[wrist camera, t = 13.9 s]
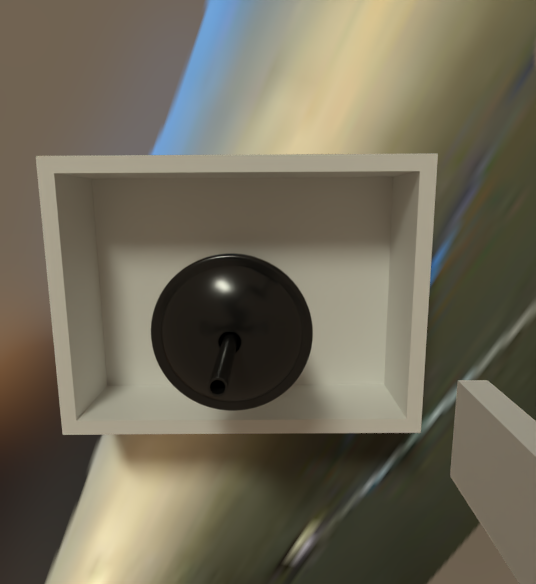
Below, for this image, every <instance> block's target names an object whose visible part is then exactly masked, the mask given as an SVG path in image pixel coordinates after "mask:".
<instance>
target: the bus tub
mask: <svg viewBox="0 0 536 584" xmlns="http://www.w3.org/2000/svg"><path fill="white" fill-rule="evenodd" d="M437 158H438V154H296V155H134V156H131V155H130V156H36V163H37V174H38V185H39V195H40V206H41V215H42V226H43V236H44V247H45V257H46V267H47V278H48V288H49V297H50V309H51V319H52V329H53V340H54V350H55V360H56V370H57V381H58V391H59V402H60V412H61V422H62V432H63V435H67V434H68V435H78V434H79V435H81V434H82V435H83V434H273V433H421V419H422V403H423V387H424V370H425V354H426V338H427V321H428V305H429V289H430V272H431V256H432V240H433V223H434V207H435V191H436V174H437ZM225 253H238V254H246V255H251V256H255V257H257V258H260V259H263V260H265V261H267V262H269V263H271V264H273V265H275V266H276V267H278V268H279V269H281V270H282V271H283V272H284V273H285V274H287V275H288V276H289V277H290V278H291V279H292V280H293V282H294V283H295V284H296V285H297V287H298V288H299V290H300V291H301V293H302V294H303V296H304V298H305V300H306V302H307V305H308V307H309V311H310V314H311V319H312V325H313V341H312V348H311V352H310V356H309V359H308V361H307V364H306V366H305V368H304V370H303V371H302V373H301V375H300V376H299V378H298V379H297V380H296V382H295V383H294V384H293V385H292V386H291V387H290V388H289V389H288V390H287V391H286V392H285V393H283V394H282V395H281V396H279V397H278V398H276V399H274V400H273V401H271V402H269V403H267V404H264V405H261V406H259V407H255V408H252V409H246V410H238V411H227V410H219V409H214V408H210V407H207V406H204V405H201V404H199V403H197V402H195V401H193V400H191V399H189V398H188V397H186V396H185V395H183V394H182V393H181V392H180V391H178V390H177V389H176V388H175V387H174V386H173V385H172V384H171V383H170V381H169V380H168V379H167V378H166V376H165V375H164V373H163V372H162V370H161V368H160V367H159V365H158V362H157V360H156V357H155V355H154V351H153V347H152V341H151V321H152V315H153V311H154V308H155V305H156V302H157V300H158V298H159V296H160V294H161V292H162V291H163V289H164V288H165V286H166V285H167V284H168V283H169V281H170V280H171V279H172V278H173V277H174V276H175V275H176V274H177V273H179V272H180V271H181V270H182V269H184V268H185V267H187V266H188V265H190V264H192V263H194V262H195V261H197V260H200V259H202V258H205V257H209V256H212V255H217V254H225Z"/></svg>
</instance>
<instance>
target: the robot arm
mask: <svg viewBox="0 0 536 584" xmlns="http://www.w3.org/2000/svg"><path fill="white" fill-rule="evenodd" d="M450 477H451V478H452V480H453V481H454V483H455V484H456V486H457V487H458V489H459V491H460V492H461V494H462V495H463V497H464V498H465V500H466V502H467V503H468V505H469V506H470V508H471V509H472V511H473V512H474V514H475V516H476V517H477V519H478V520H479V522H480V523H481V525H482V526H483V528H484V530H485V531H486V533H487V534H488V536H489V537H490V539H491V541H492V542H493V544H494V545H495V547H496V548H497V550H498V551H499V553H500V554H501V556H502V558H503V559H504V561H505V562H506V564H507V565H508V567H509V569H510V570H511V572H512V573H513V575H514V576H515V578H516V580H517V581H518V583H519V584H536V421H535V420H534V419H533V418H531V417H530V416H529V415H528V414H527V413H525V412H524V411H523V410H522V409H521V408H520V407H518V406H517V405H516V404H515V403H514V402H512V401H511V400H510V399H509V398H508V397H507V396H505V395H504V394H503V393H502V392H501V391H499V390H498V389H497V388H496V387H495V386H494V385H492V384H491V383H490V382H489V381H488V380H458V385H457V398H456V410H455V422H454V434H453V447H452V459H451V471H450Z"/></svg>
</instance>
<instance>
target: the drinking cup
mask: <svg viewBox="0 0 536 584" xmlns="http://www.w3.org/2000/svg"><path fill="white" fill-rule="evenodd" d="M151 341H152V347H153V351H154V355H155V357H156V360H157V362H158V365H159V367H160V368H161V370H162V372H163V373H164V375H165V376H166V378H167V379H168V380H169V381H170V383H171V384H172V385H173V386H174V387H175V388H176V389H177V390H178V391H180V392H181V393H182V394H183V395H185V396H186V397H188V398H189V399H191V400H193V401H195V402H197V403H199V404H201V405H204V406H207V407H210V408H214V409H219V410H227V411H238V410H246V409H252V408H255V407H259V406H261V405H264V404H267V403H269V402H271V401H273V400H274V399H276V398H278V397H279V396H281V395H282V394H283V393H285V392H286V391H287V390H288V389H289V388H290V387H291V386H292V385H293V384H294V383H295V382H296V380H297V379H298V378H299V376H300V375H301V373H302V371H303V370H304V368H305V366H306V364H307V361H308V359H309V356H310V352H311V348H312V341H313V325H312V319H311V314H310V311H309V307H308V305H307V302H306V300H305V298H304V296H303V294H302V293H301V291H300V290H299V288H298V287H297V285H296V284H295V283H294V282H293V280H292V279H291V278H290V277H289V276H288V275H287V274H285V273H284V272H283V271H282V270H281V269H279V268H278V267H276V266H275V265H273V264H271V263H269V262H267V261H265V260H263V259H260V258H257V257H255V256H251V255H246V254H238V253H225V254H217V255H212V256H209V257H205V258H202V259H200V260H197V261H195V262H194V263H192V264H190V265H188V266H187V267H185V268H184V269H182V270H181V271H180V272H179V273H177V274H176V275H175V276H174V277H173V278H172V279H171V280H170V281H169V283H168V284H167V285H166V286H165V288H164V289H163V291H162V292H161V294H160V296H159V298H158V300H157V302H156V305H155V308H154V311H153V315H152V321H151Z"/></svg>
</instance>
